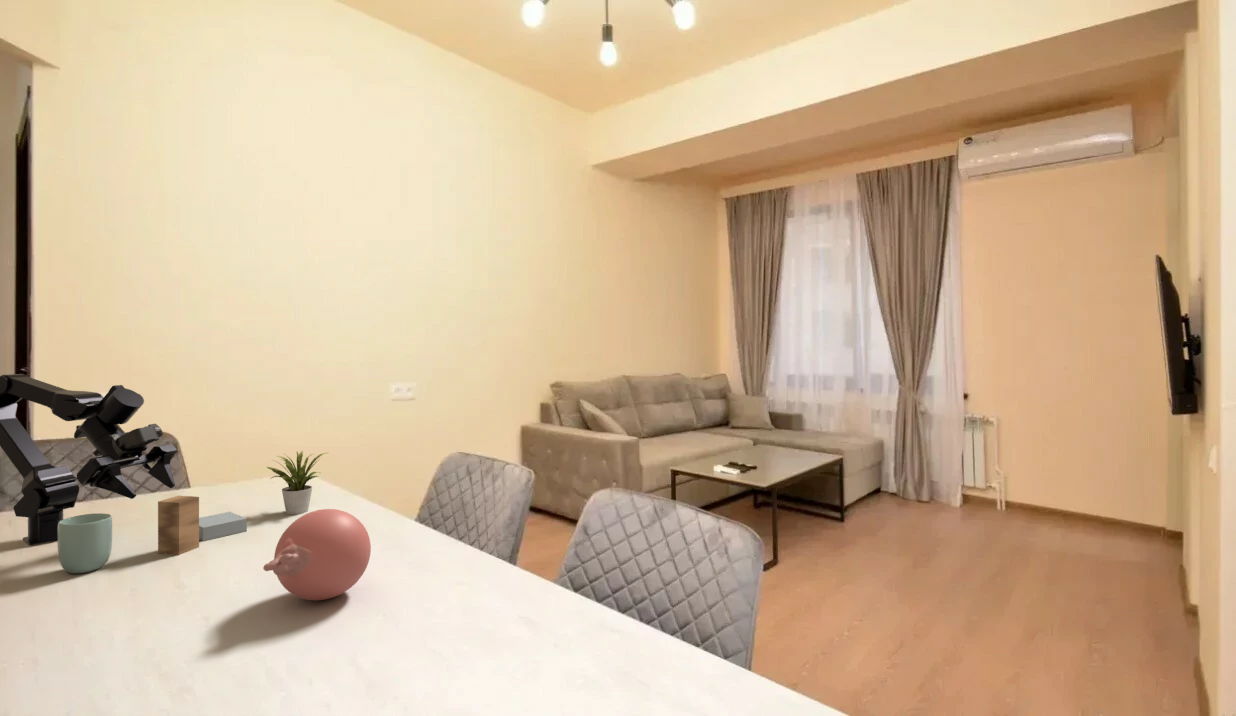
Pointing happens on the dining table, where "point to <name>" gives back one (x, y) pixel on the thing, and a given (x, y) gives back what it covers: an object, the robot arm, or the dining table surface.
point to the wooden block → (178, 525)
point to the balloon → (321, 554)
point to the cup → (84, 542)
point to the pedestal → (221, 525)
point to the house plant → (296, 484)
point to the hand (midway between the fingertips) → (154, 491)
